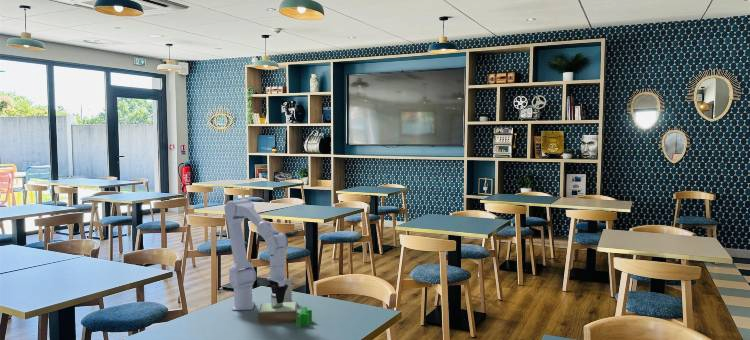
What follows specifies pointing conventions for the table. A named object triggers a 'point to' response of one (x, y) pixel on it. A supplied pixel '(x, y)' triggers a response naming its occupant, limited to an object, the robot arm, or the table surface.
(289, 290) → the grey rectangular block
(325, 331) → the table surface
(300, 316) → the pipe clamp
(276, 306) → the grey metal cylinder
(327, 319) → the table surface
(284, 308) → the walnut stand
